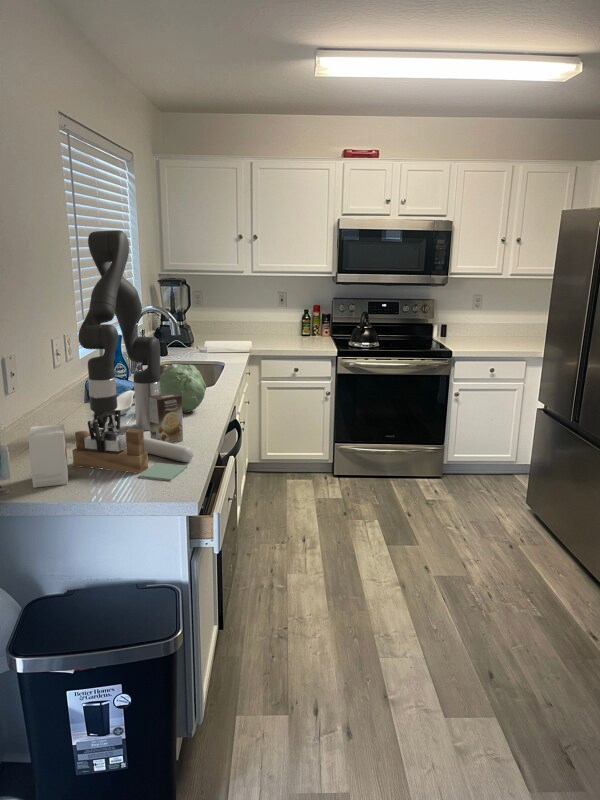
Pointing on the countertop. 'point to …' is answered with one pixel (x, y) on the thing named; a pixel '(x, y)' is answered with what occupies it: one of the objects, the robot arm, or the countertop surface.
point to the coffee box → (166, 417)
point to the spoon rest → (125, 401)
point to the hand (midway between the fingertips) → (107, 448)
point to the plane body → (113, 454)
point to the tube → (167, 450)
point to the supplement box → (48, 455)
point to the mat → (162, 471)
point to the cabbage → (183, 384)
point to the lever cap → (108, 441)
